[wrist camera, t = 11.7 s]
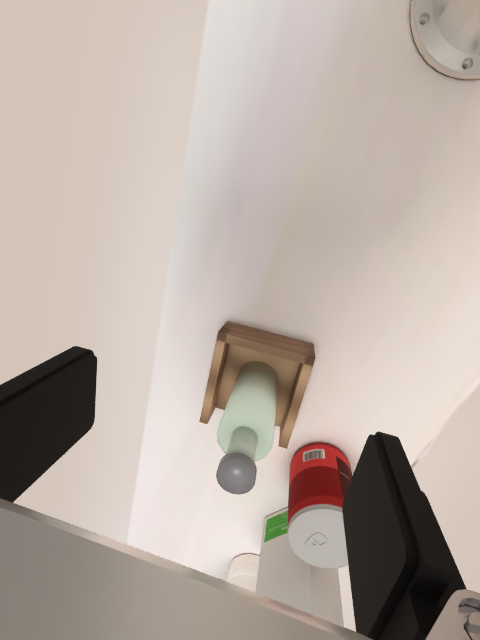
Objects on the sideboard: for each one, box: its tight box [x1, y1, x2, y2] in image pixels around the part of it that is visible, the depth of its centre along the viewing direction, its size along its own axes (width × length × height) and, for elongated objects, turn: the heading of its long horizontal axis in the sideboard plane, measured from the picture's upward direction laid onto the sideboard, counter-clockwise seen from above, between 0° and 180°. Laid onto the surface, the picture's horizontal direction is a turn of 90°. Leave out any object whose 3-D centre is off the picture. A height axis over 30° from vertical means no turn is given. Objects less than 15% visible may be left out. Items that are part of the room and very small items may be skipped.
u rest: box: [200, 321, 315, 449], centre depth 39 cm, size 12×11×5 cm
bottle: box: [216, 361, 278, 494], centre depth 32 cm, size 5×5×17 cm
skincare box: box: [255, 507, 344, 627], centre depth 38 cm, size 8×7×16 cm
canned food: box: [287, 443, 352, 569], centre depth 37 cm, size 8×8×11 cm
